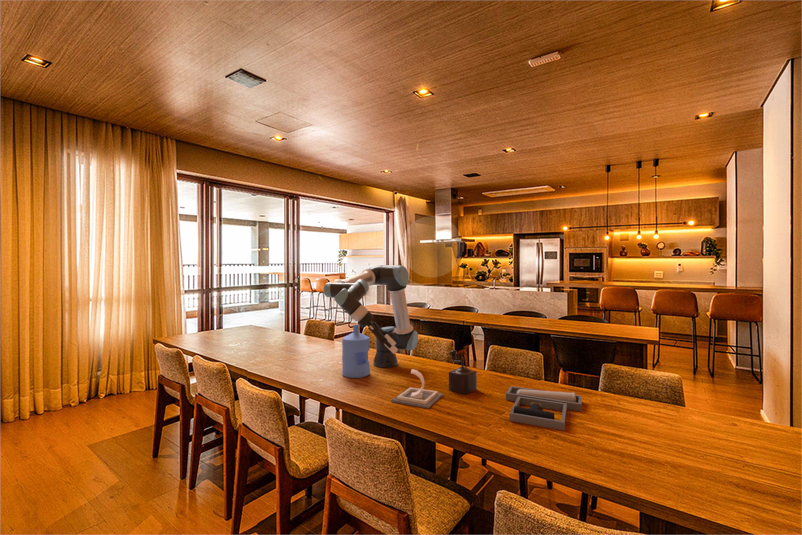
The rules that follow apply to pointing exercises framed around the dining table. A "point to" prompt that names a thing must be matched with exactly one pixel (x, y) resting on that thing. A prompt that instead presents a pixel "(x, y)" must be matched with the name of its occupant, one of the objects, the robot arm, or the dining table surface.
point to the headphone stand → (419, 393)
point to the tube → (549, 395)
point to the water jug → (355, 354)
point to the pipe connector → (534, 411)
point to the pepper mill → (462, 377)
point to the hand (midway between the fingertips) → (395, 348)
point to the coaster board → (424, 402)
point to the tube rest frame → (570, 405)
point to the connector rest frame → (538, 420)
